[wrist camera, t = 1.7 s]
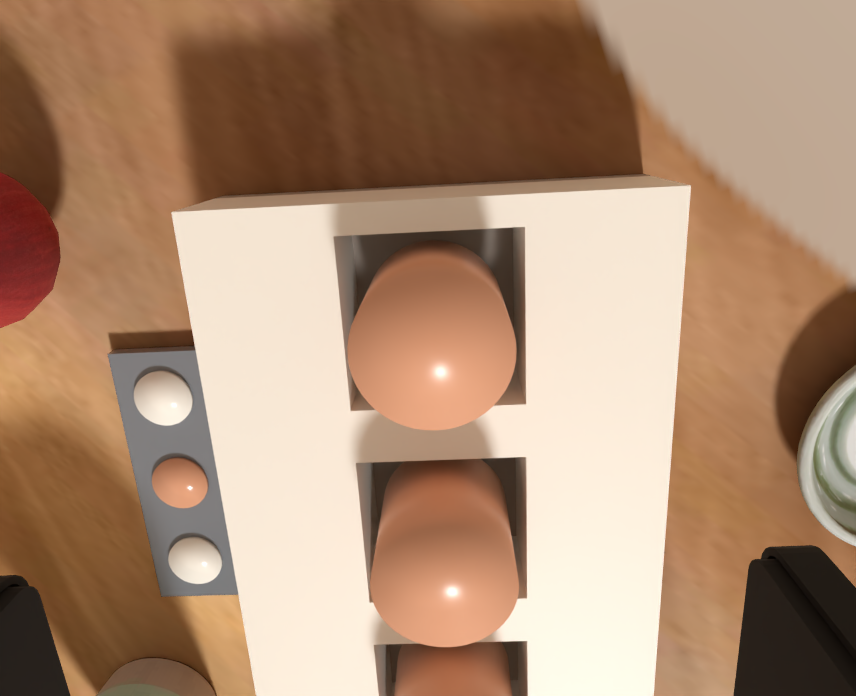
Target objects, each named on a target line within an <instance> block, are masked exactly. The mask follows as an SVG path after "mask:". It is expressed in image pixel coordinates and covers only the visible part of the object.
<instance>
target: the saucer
mask: <svg viewBox="0 0 856 696" xmlns="http://www.w3.org/2000/svg"><path fill="white" fill-rule="evenodd" d="M797 474H798V481H799V486H800V490H801V492H802V495H803V497H804V500H805V502H806V504H807V506H808V507H809V509H810V510H811V512H812V513H813V515H814V516H815V517H816V518H817V520H818V521H819V522H820V523H821V524H822V525H823V526H824V527H825V528H826V529H827V530H828V531H830V532H831V533H832V534H834V535H835V536H837V537H838V538H840V539H841V540H843V541H845V542H847V543H849V544H851V545H854V546H856V365H855V366H853V367H852V368H851V369H850V370H848V371H847V372H846V373H845V374H844V375H843V376H842V377H840V378H839V379H838V380H837V381H836V382H835V383H834V384H833V385H832V386H831V387H830V388H829V389H828V390H827V392H826V393H825V394H824V395H823V396H822V398H821V399H820V400H819V402H818V403H817V405H816V406H815V408H814V410H813V411H812V413H811V415H810V416H809V418H808V421H807V423H806V425H805V427H804V430H803V432H802V436H801V439H800V443H799V447H798V453H797Z"/></svg>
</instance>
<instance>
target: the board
mask: <svg viewBox="0 0 856 696" xmlns="http://www.w3.org/2000/svg"><path fill="white" fill-rule="evenodd" d="M690 191H691V185H687V184H683V183H679V182H675V181H671V180H667V179H662V178H658V177H654V176H650V175H646V174H632V175H613V176H594V177H575V178H555V179H536V180H517V181H498V182H479V183H460V184H440V185H421V186H402V187H383V188H364V189H345V190H325V191H306V192H287V193H268V194H249V195H230V196H221V197H218V198H214V199H211V200H208V201H205V202H202V203H199V204H195V205H192V206H189V207H186V208H183V209H180V210H177V211H173V212H171V213H172V219H173V224H174V230H175V236H176V241H177V247H178V253H179V258H180V264H181V270H182V276H183V281H184V287H185V293H186V298H187V304H188V310H189V315H190V321H191V327H192V332H193V338H194V344H195V350H196V355H197V361H198V367H199V372H200V378H201V384H202V389H203V395H204V401H205V407H206V412H207V418H208V424H209V429H210V435H211V441H212V446H213V452H214V458H215V464H216V469H217V475H218V481H219V486H220V492H221V498H222V503H223V509H224V515H225V521H226V526H227V532H228V538H229V543H230V549H231V555H232V560H233V566H234V572H235V578H236V583H237V589H238V595H239V600H240V606H241V612H242V617H243V623H244V629H245V635H246V640H247V646H248V652H249V657H250V663H251V669H252V674H253V680H254V686H255V692H256V696H394V694H395V683H396V672H397V661H398V654H399V651H400V648H401V646H402V644H420V643H417V642H414V641H411V640H409V639H407V638H405V637H403V636H402V635H400V634H399V633H397V632H395V631H394V630H393V629H392V628H391V627H389V626H388V625H387V623H386V622H385V621H384V620H383V619H382V618H381V616H380V615H379V613H378V612H377V610H376V608H375V606H374V603H373V600H372V596H371V591H370V580H371V573H372V567H373V560H374V554H375V548H376V542H377V536H378V530H379V524H380V518H381V512H382V506H383V500H384V494H385V489H386V486H387V483H388V481H389V479H390V477H391V476H392V474H393V473H394V471H395V470H396V469H397V468H398V467H399V466H400V465H401V464H402V463H404V462H405V461H426V460H454V459H481V460H482V461H484V462H485V463H486V464H488V465H489V466H490V467H491V468H492V469H493V471H494V472H495V473H496V474H497V476H498V478H499V479H500V481H501V483H502V486H503V489H504V493H505V498H506V505H507V511H508V517H509V523H510V529H511V536H512V542H513V548H514V554H515V560H516V566H517V573H518V580H519V593H518V598H517V602H516V605H515V607H514V610H513V611H512V613H511V615H510V616H509V618H508V619H507V620H506V621H505V623H504V624H503V625H502V626H501V627H500V628H499V629H497V630H496V631H495V632H493V633H492V634H491V635H489V636H487V637H485V638H484V639H481V640H479V641H477V642H502V644H503V645H504V647H505V650H506V652H507V656H508V664H509V672H510V681H511V689H512V696H654V683H655V669H656V655H657V642H658V628H659V614H660V601H661V587H662V573H663V560H664V546H665V532H666V519H667V505H668V491H669V478H670V464H671V450H672V437H673V423H674V409H675V396H676V382H677V368H678V355H679V341H680V327H681V314H682V300H683V286H684V273H685V259H686V245H687V232H688V218H689V204H690ZM428 240H441V241H448V242H452V243H455V244H459V245H461V246H463V247H465V248H467V249H469V250H471V251H472V252H474V253H475V254H476V255H478V256H479V257H480V258H481V259H482V260H483V261H484V262H485V263H486V264H487V265H488V266H489V268H490V269H491V271H492V272H493V274H494V276H495V278H496V280H497V282H498V285H499V288H500V291H501V294H502V297H503V300H504V303H505V306H506V309H507V312H508V315H509V318H510V321H511V324H512V327H513V330H514V334H515V339H516V349H517V352H516V363H515V368H514V372H513V375H512V378H511V381H510V383H509V385H508V387H507V389H506V391H505V392H504V393H503V395H502V396H501V398H500V399H499V400H498V401H497V402H496V404H495V405H494V406H493V407H492V408H491V409H489V410H488V411H487V412H486V413H485V414H483V415H482V416H480V417H479V418H477V419H475V420H473V421H471V422H469V423H467V424H464V425H462V426H459V427H455V428H451V429H446V430H420V429H414V428H410V427H406V426H403V425H401V424H398V423H396V422H394V421H392V420H390V419H388V418H386V417H385V416H383V415H382V414H380V413H379V412H378V411H376V410H375V409H374V408H373V407H372V406H371V405H370V404H369V403H368V402H367V401H366V399H365V398H364V397H363V396H362V394H361V393H360V391H359V390H358V388H357V386H356V384H355V382H354V380H353V378H352V374H351V371H350V368H349V362H348V351H347V346H348V337H349V333H350V329H351V325H352V323H353V320H354V318H355V316H356V314H357V311H358V309H359V307H360V305H361V303H362V301H363V299H364V297H365V294H366V292H367V290H368V288H369V286H370V284H371V282H372V280H373V278H374V276H375V274H376V272H377V271H378V269H379V268H380V266H381V265H382V264H383V263H384V262H385V261H386V260H387V259H388V258H389V257H390V256H391V255H392V254H394V253H395V252H396V251H398V250H400V249H402V248H403V247H405V246H408V245H410V244H413V243H417V242H421V241H428Z"/></svg>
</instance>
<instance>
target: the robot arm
mask: <svg viewBox="0 0 856 696" xmlns="http://www.w3.org/2000/svg"><path fill="white" fill-rule="evenodd" d="M0 696H70V693H69V690H68V686H67V683H66V680H65V677H64V673H63V670H62V667H61V663H60V660H59V657H58V654H57V650H56V647H55V644H54V640H53V637H52V634H51V631H50V627H49V624H48V621H47V617H46V614H45V611H44V608H43V604H42V601H41V598H40V595H39V593H38V591H37V589H35V588H34V587H31V586H29V585H28V583H27V581H26V580H25V579H24V578H23V577H21V576H17V575H9V576H0ZM734 696H856V588H855V587H854V585H853V584H852V583H851V582H850V581H849V580H848V579H847V578H846V576H845V575H844V574H843V573H842V572H841V571H840V570H839V569H838V567H837V566H836V565H835V564H834V563H833V562H832V561H831V560H830V558H829V557H828V556H827V555H826V554H825V553H824V552H823V551H822V550H821V549H820V548H818V547H816V546H813V545H809V546H782V547H768V548H766V549H765V550H764V552H763V553H762V557H761V559H755V560H752V561H751V563H750V565H749V569H748V578H747V586H746V595H745V603H744V612H743V620H742V629H741V637H740V646H739V654H738V663H737V671H736V680H735V688H734Z"/></svg>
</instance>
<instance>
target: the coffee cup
mask: <svg viewBox="0 0 856 696" xmlns="http://www.w3.org/2000/svg"><path fill="white" fill-rule="evenodd" d="M96 696H216V695H215V692H214V691H213V689H212V687H211V686H210V684H209V683H208V682H207V681H206V680H205V678H203V677H202V676H201V675H200V674H199V673H198V672H196V671H195V670H193V669H191V668H190V667H188V666H186V665H184V664H181V663H179V662H176V661H172V660H168V659H161V658H145V659H139V660H135V661H132V662H130V663H127V664H125V665H123V666H122V667H120V668H119V669H118V670H116V671H115V672H114V673H113V675H112V676H111V677H110V678H109V680H108V681H107V682H106V683H105V685H104V686H103V687H102V689H101V690H100V691H99V692H98V694H97V695H96Z"/></svg>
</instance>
